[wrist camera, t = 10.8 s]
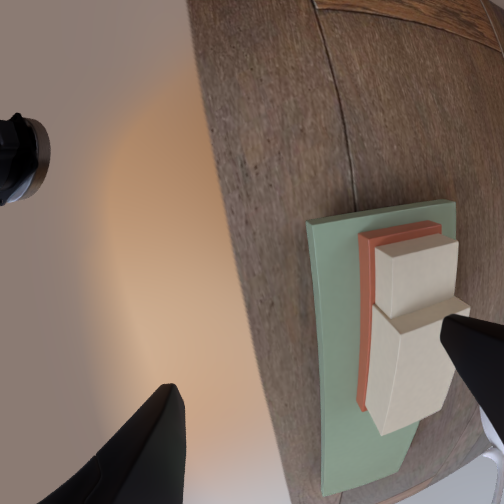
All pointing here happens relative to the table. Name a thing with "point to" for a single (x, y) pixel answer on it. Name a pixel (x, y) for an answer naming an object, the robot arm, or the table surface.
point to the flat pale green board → (354, 344)
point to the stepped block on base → (405, 322)
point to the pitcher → (494, 455)
